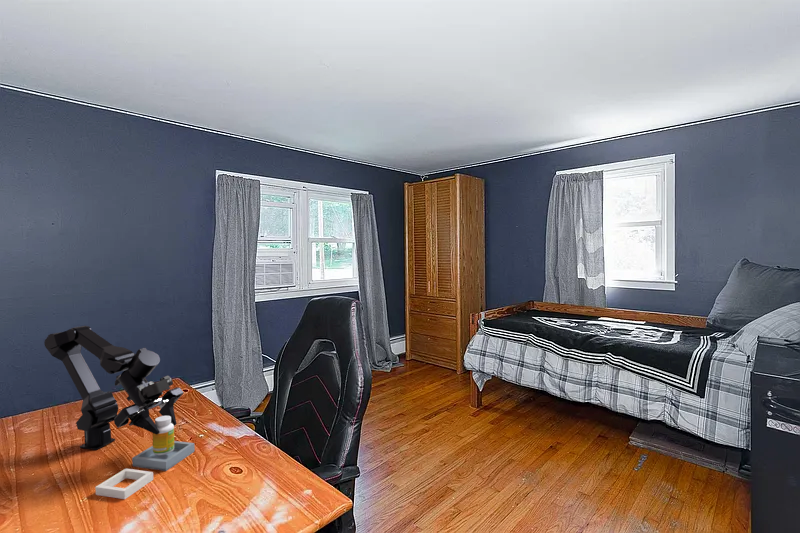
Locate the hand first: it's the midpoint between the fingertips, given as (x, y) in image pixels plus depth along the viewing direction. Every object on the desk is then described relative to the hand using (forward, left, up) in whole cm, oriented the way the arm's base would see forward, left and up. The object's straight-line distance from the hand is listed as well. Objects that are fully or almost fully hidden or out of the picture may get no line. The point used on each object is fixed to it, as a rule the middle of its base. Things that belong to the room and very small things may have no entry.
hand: (166, 429), depth 117 cm
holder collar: (0, -14, -9) cm, 16 cm away
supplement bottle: (-1, 0, -7) cm, 7 cm away
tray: (-1, 0, -9) cm, 9 cm away
